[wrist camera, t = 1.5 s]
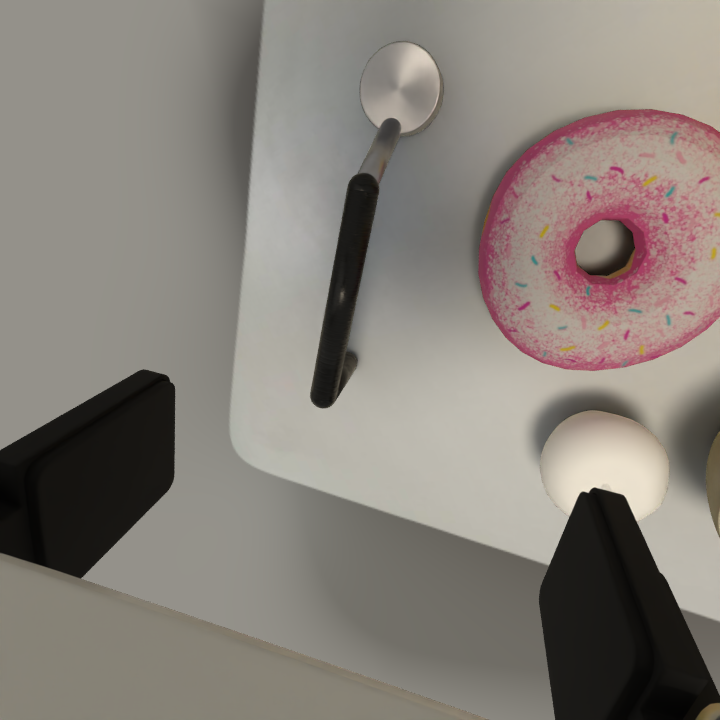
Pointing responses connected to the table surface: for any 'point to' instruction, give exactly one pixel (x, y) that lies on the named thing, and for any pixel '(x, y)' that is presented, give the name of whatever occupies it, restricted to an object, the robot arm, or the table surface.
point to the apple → (604, 461)
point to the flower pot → (714, 481)
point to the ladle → (371, 194)
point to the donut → (585, 208)
